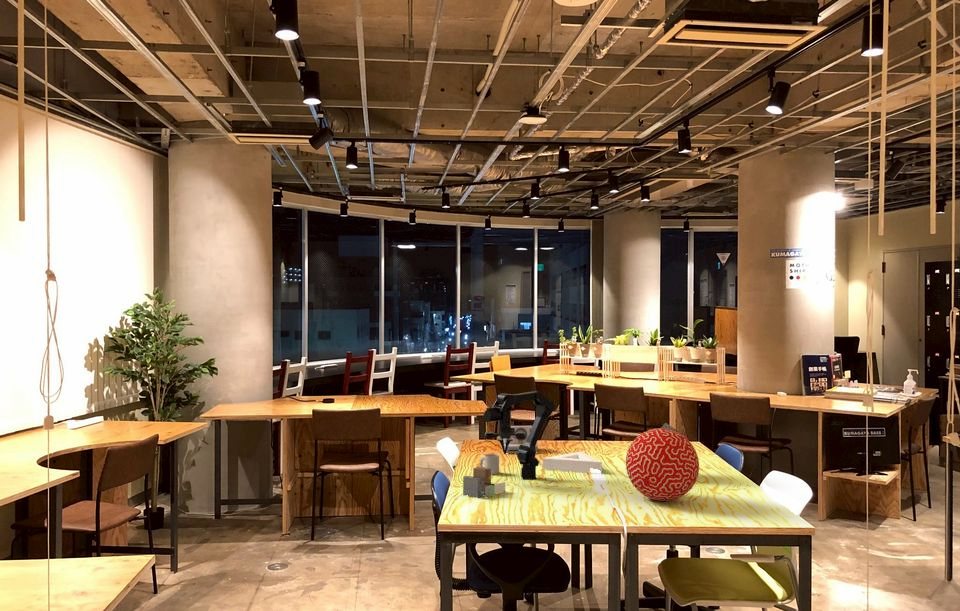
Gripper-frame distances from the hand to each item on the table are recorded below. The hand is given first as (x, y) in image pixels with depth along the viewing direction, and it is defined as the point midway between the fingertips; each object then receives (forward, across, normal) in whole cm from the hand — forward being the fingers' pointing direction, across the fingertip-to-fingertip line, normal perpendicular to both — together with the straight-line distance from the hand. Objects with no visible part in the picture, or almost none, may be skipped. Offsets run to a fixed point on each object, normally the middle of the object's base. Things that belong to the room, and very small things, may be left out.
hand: (504, 454), depth 335 cm
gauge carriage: (+11, -9, -23) cm, 27 cm away
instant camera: (+14, +12, +80) cm, 82 cm away
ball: (+13, +65, -34) cm, 75 cm away
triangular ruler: (+14, +39, +35) cm, 54 cm away
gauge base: (+13, -9, -21) cm, 26 cm away
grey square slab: (+13, -15, -27) cm, 34 cm away
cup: (+13, -7, +19) cm, 24 cm away
